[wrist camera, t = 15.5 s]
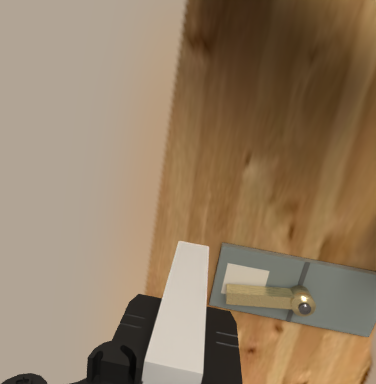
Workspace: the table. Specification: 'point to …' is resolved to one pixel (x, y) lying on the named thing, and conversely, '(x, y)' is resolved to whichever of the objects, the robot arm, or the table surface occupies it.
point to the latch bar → (272, 298)
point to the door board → (305, 276)
